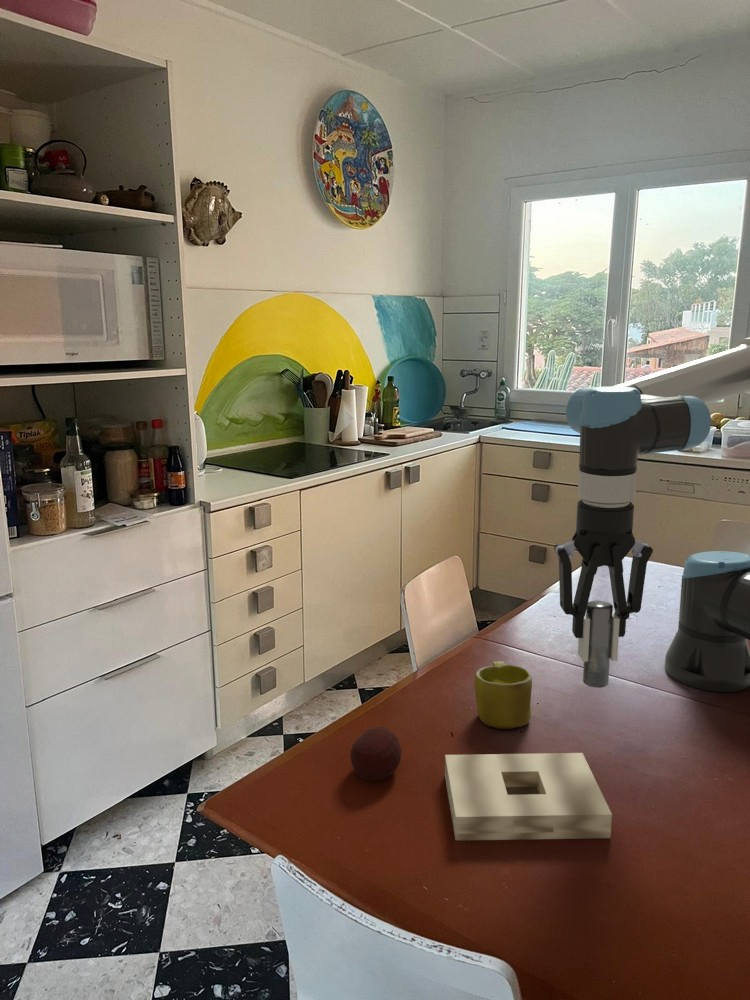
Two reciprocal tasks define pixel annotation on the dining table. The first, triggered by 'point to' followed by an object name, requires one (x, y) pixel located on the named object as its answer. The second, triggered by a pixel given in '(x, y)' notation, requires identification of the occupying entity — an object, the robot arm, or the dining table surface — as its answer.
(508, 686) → the mug
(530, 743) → the dining table surface
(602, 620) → the pin
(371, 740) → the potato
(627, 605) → the robot arm
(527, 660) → the dining table surface
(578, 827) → the block
